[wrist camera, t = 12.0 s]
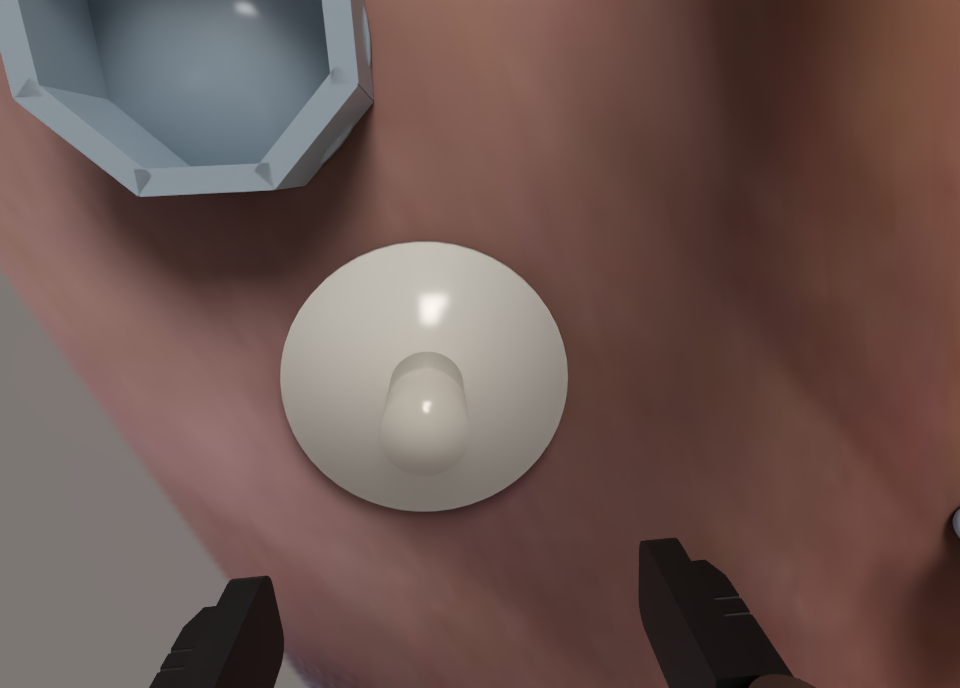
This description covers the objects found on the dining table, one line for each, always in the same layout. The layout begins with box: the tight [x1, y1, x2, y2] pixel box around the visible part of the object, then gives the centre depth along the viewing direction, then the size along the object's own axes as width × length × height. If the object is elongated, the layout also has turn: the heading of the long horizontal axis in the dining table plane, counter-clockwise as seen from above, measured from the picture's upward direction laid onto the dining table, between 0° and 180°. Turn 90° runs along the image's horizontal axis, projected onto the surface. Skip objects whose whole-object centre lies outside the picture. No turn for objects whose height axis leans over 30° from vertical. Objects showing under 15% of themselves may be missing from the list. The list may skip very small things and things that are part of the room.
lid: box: [280, 241, 568, 512], centre depth 22 cm, size 12×12×5 cm
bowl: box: [0, 0, 374, 197], centre depth 18 cm, size 10×10×4 cm
